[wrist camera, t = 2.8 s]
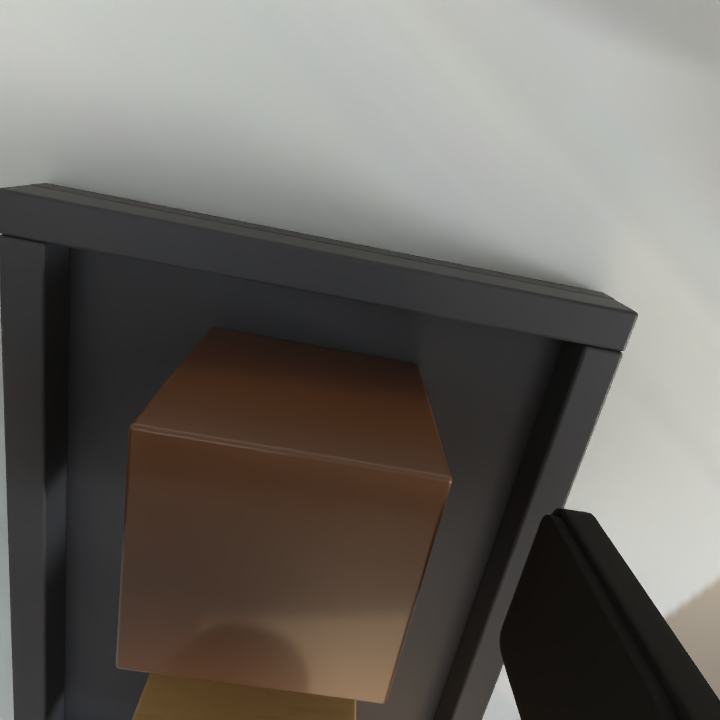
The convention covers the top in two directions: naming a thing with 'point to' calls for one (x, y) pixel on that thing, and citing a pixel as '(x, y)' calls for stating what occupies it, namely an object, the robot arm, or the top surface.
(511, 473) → the dark grey flat tray
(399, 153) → the top surface
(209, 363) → the walnut block
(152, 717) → the maple block
